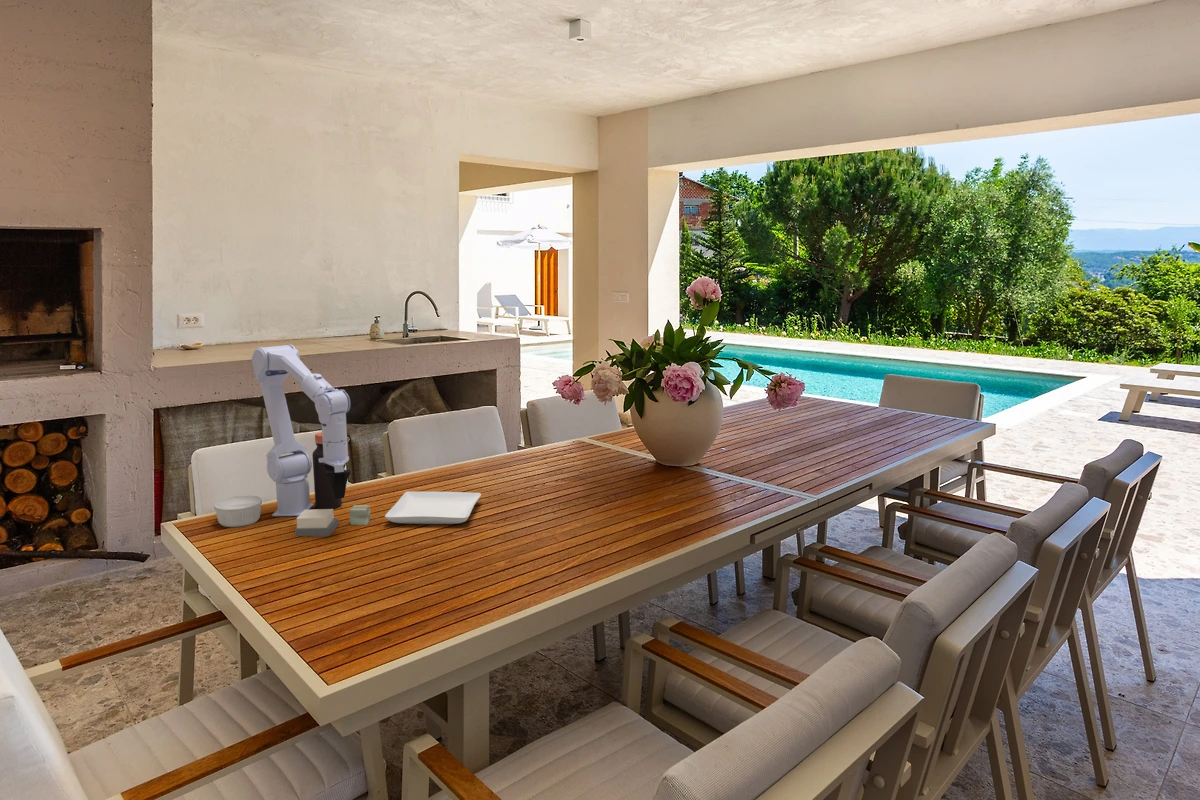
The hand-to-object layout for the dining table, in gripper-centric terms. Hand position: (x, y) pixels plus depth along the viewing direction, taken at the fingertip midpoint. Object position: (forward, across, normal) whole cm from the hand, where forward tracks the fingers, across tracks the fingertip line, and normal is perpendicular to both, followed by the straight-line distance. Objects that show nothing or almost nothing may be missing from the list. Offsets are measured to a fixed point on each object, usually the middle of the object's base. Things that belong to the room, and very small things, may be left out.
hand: (338, 493), depth 194 cm
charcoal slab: (+9, 0, -5) cm, 11 cm away
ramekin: (+9, -15, -23) cm, 29 cm away
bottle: (+9, -20, -1) cm, 22 cm away
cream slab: (+7, 0, -6) cm, 9 cm away
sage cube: (+9, -2, +5) cm, 11 cm away
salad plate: (+9, -1, +24) cm, 26 cm away
